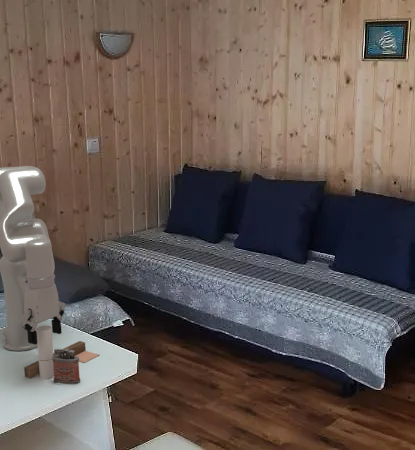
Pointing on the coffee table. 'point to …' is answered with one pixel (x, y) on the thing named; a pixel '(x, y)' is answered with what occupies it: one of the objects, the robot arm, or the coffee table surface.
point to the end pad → (86, 356)
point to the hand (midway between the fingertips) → (45, 338)
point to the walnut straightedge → (33, 368)
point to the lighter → (66, 367)
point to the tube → (45, 351)
